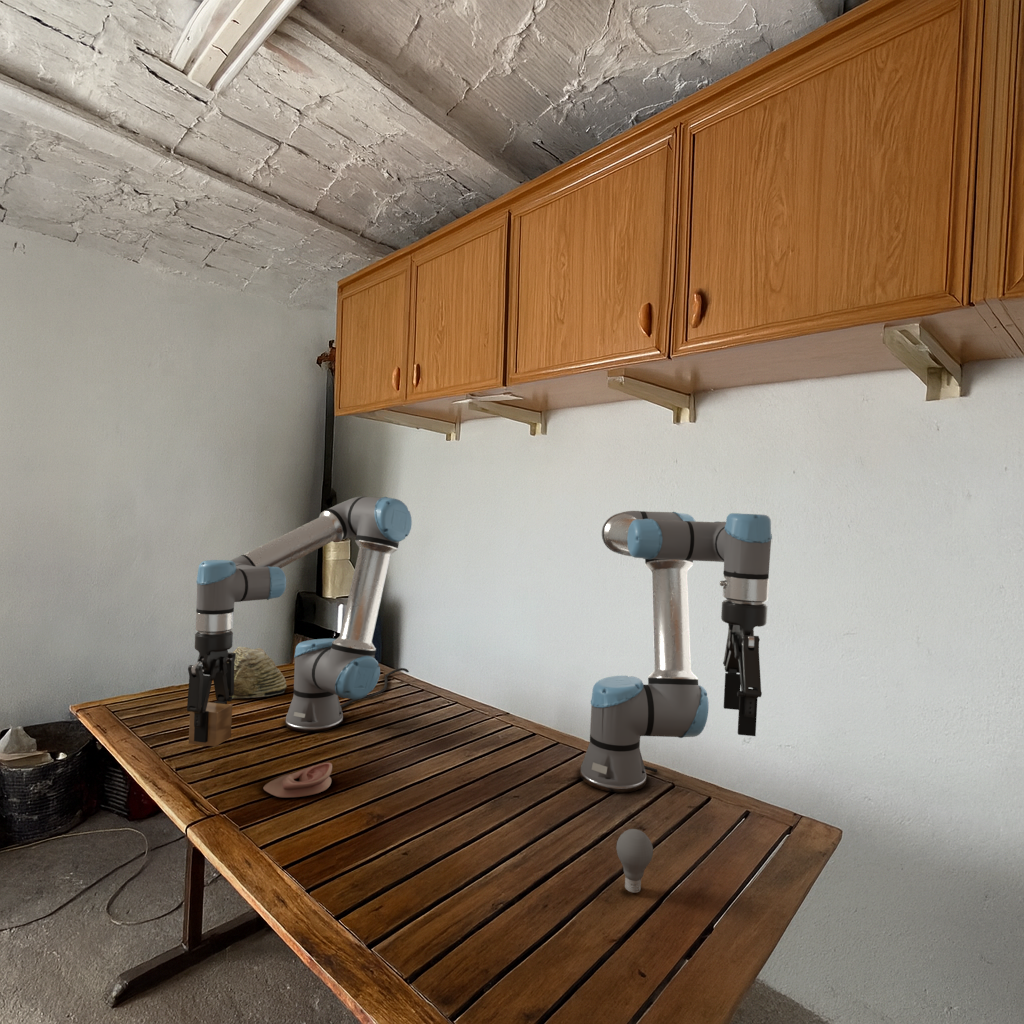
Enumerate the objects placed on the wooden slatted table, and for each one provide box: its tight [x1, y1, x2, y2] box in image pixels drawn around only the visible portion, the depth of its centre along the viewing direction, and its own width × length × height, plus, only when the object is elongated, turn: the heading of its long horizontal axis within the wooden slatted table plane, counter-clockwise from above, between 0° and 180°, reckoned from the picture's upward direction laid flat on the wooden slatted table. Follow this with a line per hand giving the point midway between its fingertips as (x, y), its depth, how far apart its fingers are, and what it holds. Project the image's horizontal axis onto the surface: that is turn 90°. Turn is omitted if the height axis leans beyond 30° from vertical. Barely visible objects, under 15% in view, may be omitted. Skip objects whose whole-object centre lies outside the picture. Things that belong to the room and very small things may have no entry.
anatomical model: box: [262, 762, 333, 799], centre depth 138 cm, size 13×4×12 cm
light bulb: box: [615, 828, 654, 894], centre depth 106 cm, size 6×6×10 cm
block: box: [188, 701, 233, 747], centre depth 139 cm, size 6×6×7 cm
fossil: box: [228, 646, 288, 699], centre depth 198 cm, size 9×18×15 cm, turn 132°
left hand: (210, 735), depth 139 cm, fingers closed on block, 6 cm apart
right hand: (738, 721), depth 112 cm, fingers open, 13 cm apart
